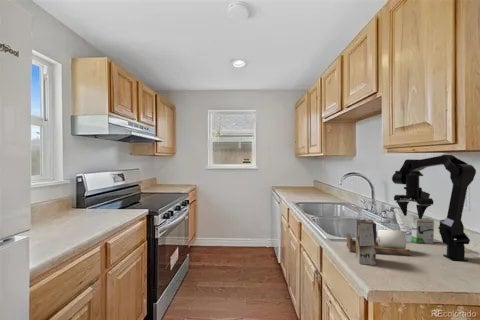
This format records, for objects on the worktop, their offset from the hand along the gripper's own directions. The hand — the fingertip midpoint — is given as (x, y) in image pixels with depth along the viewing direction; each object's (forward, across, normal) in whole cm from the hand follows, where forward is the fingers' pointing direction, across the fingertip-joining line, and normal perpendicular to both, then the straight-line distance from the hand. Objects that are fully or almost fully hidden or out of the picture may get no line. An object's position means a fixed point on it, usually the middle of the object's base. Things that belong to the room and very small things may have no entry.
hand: (412, 217), depth 149 cm
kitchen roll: (+12, -7, +18) cm, 23 cm away
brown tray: (+13, -4, +24) cm, 28 cm away
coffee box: (+14, -15, +38) cm, 43 cm away
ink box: (+13, +2, -8) cm, 15 cm away
